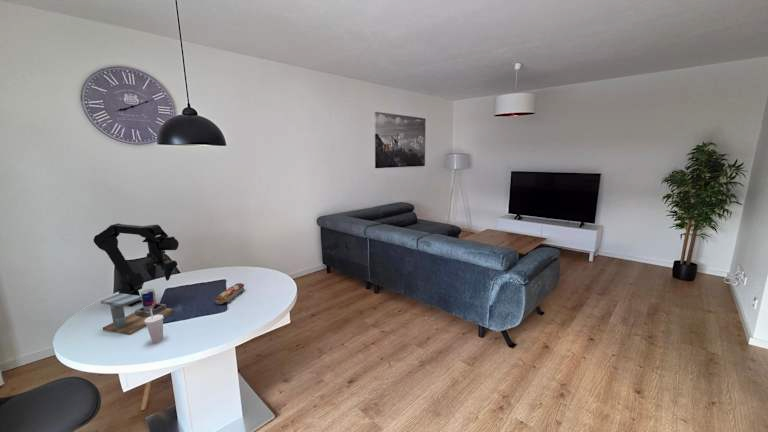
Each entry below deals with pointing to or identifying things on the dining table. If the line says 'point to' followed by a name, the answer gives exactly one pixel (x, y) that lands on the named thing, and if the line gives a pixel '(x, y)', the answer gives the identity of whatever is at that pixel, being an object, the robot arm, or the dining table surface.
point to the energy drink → (149, 300)
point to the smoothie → (155, 326)
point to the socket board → (133, 320)
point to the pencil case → (229, 293)
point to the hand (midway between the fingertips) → (160, 279)
